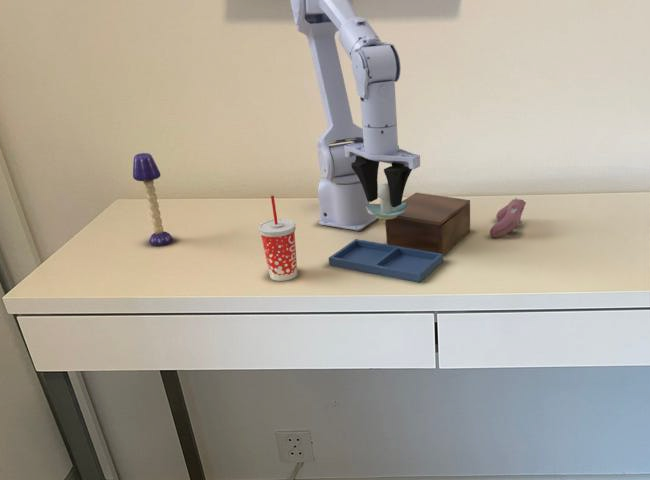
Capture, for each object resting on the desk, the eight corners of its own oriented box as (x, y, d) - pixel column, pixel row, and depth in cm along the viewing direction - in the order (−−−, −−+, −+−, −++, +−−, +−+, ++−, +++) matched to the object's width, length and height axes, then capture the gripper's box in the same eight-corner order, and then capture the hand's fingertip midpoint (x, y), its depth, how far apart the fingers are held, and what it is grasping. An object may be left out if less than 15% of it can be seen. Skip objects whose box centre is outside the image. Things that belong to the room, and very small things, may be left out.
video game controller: (508, 247, 141) (526, 216, 137) (487, 235, 141) (504, 204, 137) (515, 227, 149) (532, 198, 146) (494, 216, 149) (511, 187, 145)
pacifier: (364, 211, 134) (367, 222, 129) (362, 176, 131) (365, 186, 126) (404, 209, 136) (409, 220, 130) (404, 174, 132) (408, 185, 127)
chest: (442, 256, 134) (441, 225, 131) (386, 246, 139) (384, 217, 136) (470, 231, 144) (470, 203, 141) (417, 223, 148) (416, 195, 145)
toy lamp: (180, 240, 143) (161, 152, 134) (162, 249, 139) (142, 159, 131) (161, 236, 145) (141, 149, 136) (143, 245, 141) (121, 156, 132)
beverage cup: (284, 285, 125) (273, 204, 118) (257, 277, 128) (244, 198, 121) (309, 272, 130) (299, 193, 122) (282, 264, 132) (271, 187, 125)
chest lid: (440, 225, 131) (439, 222, 130) (382, 216, 135) (382, 213, 135) (470, 203, 141) (470, 199, 141) (416, 195, 145) (415, 192, 145)
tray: (419, 282, 125) (419, 274, 124) (329, 265, 132) (328, 257, 131) (443, 261, 132) (443, 253, 132) (356, 246, 139) (355, 238, 138)
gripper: (429, 123, 124) (431, 203, 131) (360, 113, 130) (365, 189, 138) (404, 133, 119) (408, 215, 126) (333, 122, 125) (341, 200, 132)
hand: (384, 202), depth 131 cm, fingers closed on pacifier, 5 cm apart
